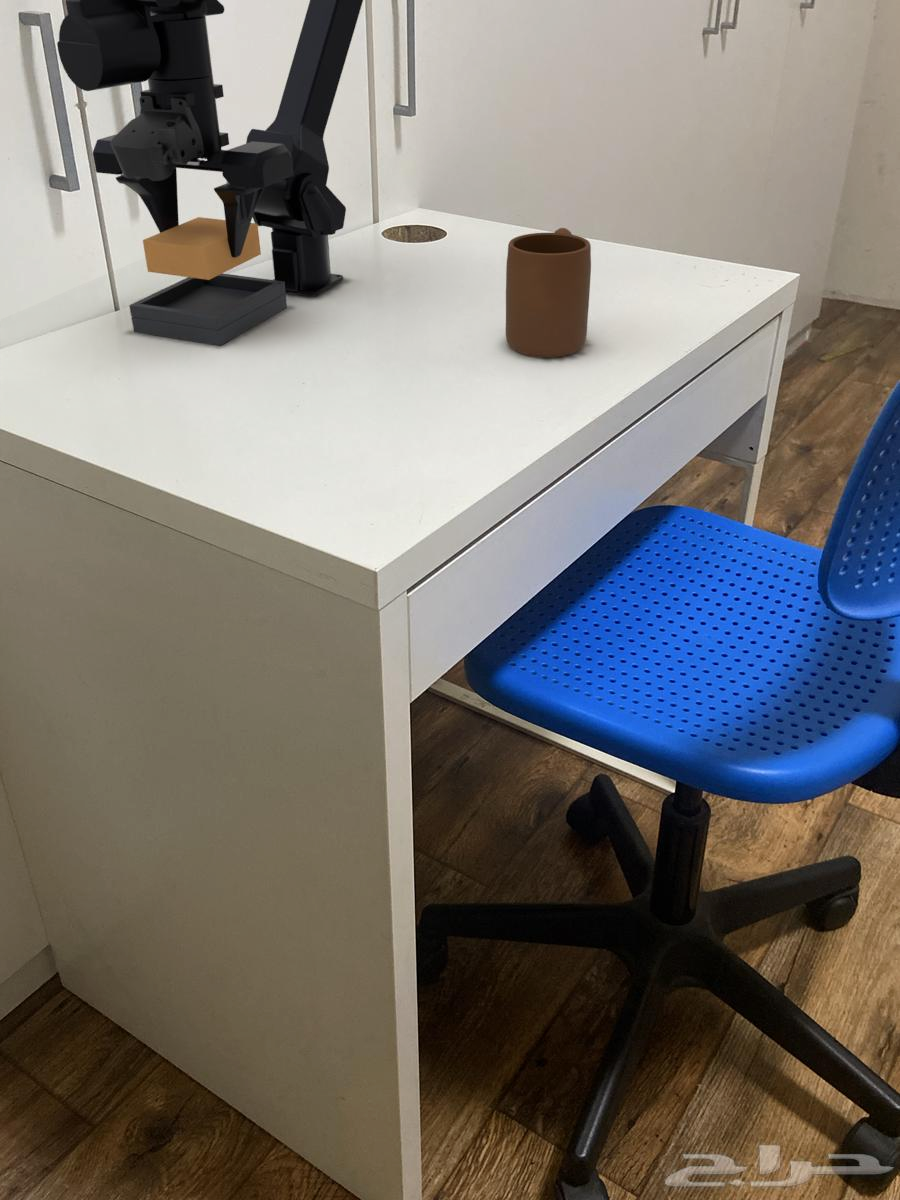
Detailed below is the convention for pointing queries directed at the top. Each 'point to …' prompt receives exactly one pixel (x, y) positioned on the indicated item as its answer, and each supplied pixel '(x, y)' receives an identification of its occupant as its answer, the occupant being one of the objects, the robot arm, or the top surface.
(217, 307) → the dark gray tray
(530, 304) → the mug
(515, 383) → the top surface
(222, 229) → the foam pad
